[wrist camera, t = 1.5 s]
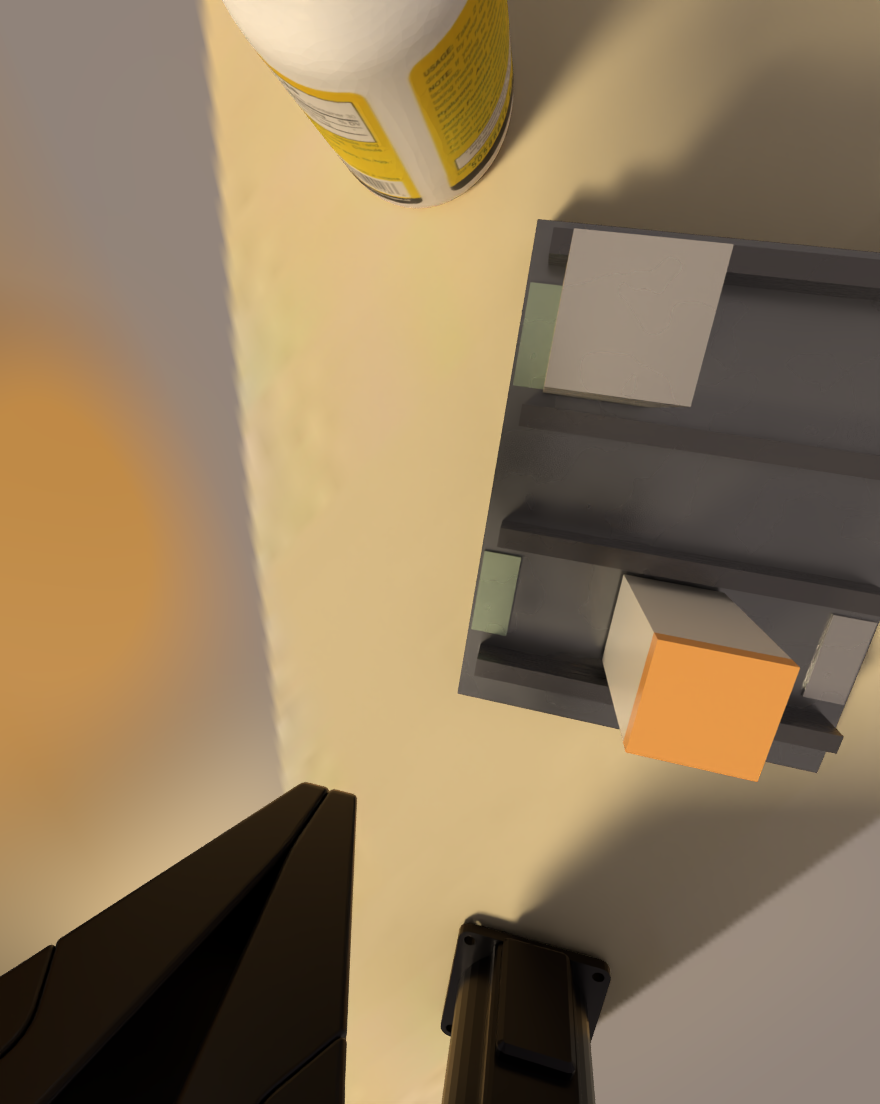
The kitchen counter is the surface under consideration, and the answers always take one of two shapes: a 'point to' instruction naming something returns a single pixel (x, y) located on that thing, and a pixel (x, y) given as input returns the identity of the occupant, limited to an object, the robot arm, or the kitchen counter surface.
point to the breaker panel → (685, 463)
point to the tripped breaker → (694, 678)
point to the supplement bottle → (394, 85)
